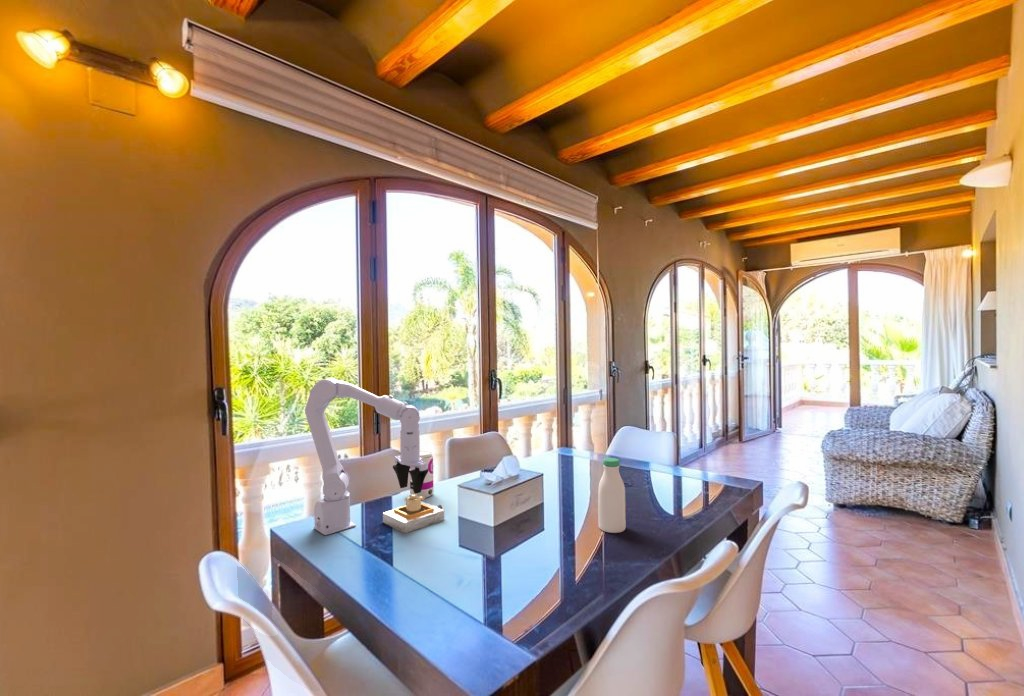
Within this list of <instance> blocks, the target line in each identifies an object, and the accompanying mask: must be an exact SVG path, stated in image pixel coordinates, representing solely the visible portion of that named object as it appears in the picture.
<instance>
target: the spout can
mask: <svg viewBox="0 0 1024 696" xmlns="http://www.w3.org/2000/svg"><path fill="white" fill-rule="evenodd" d="M425 499H426V498H425V497H424V496H422V497H419V496H417V494H411V495H410V494H409V495H408V497H406V498H405V506H406V513H407V514H409V515H412V514H415V513H418V512H421V501H423V500H425Z"/></svg>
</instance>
